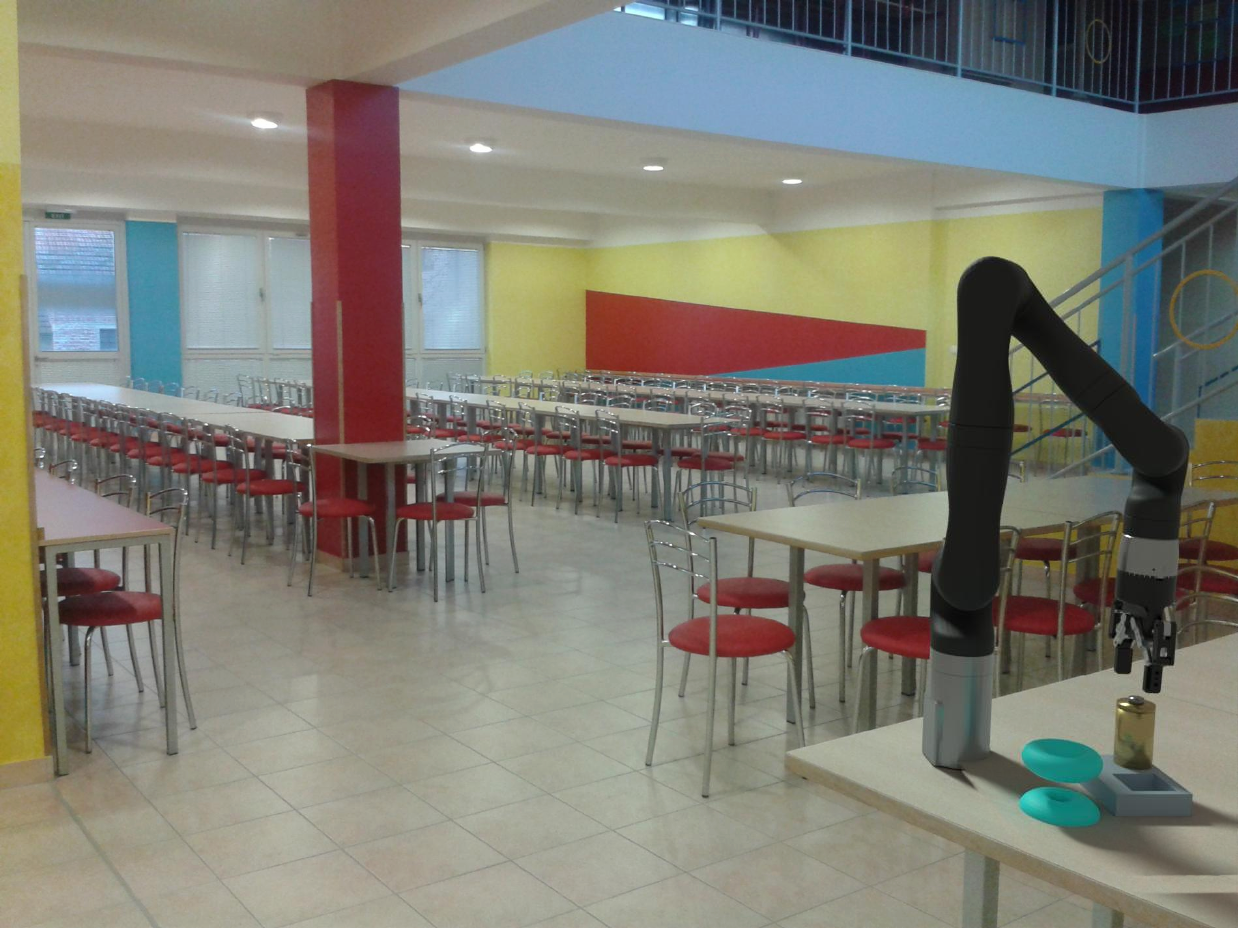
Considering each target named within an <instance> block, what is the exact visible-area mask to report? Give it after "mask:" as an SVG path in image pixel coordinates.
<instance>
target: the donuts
mask: <svg viewBox="0 0 1238 928" xmlns="http://www.w3.org/2000/svg"><path fill="white" fill-rule="evenodd" d="M1100 755H1101V754H1099V752H1098V751H1096V749H1093V748H1092V747H1090V746H1088V745H1086V744H1083V743H1080V742H1078V741H1077V742H1076V741H1073V740H1068V739H1061V738H1039V739H1035V740H1032V741H1030V742H1028V743H1026V744H1025V746H1024V747H1023V748H1022V751H1021V759H1022V762H1023V764H1024V765H1025V767H1026V768H1027V769H1028V770H1029V771H1030V772H1032V774H1034V775H1036V776H1038V777H1040V778H1043V779H1045V780H1048V781H1051V782H1056V783H1061V784H1079V783H1083V782H1088V781H1091V780H1093V779H1095V778H1096V777H1097V776H1099V775H1100V773H1101V772H1102V769H1103V760H1102V758H1101V756H1100ZM1018 807H1019V809H1020V810H1021V811H1022V812H1023V814H1025V815H1026V816H1028V817H1031V818H1032V819H1034V820H1037V821H1040V822H1041V823H1046V824H1049V825H1050V824H1051V825H1054V826H1059V827H1060V826H1061V827H1071V828H1077V827H1079V828H1080V827H1088V826H1092V825H1095V824H1097V823H1098V822H1100V819H1101V813H1100V810H1099V807H1098V806H1097V804H1096V803H1095V802H1094V801H1093V800H1091V799H1090V798H1089V797H1088V796H1086V795H1084V794H1083V793H1081V792H1078V791H1076V790H1072V789H1069V788H1064V787H1056V786H1041V787H1036V788H1033V789H1030V790H1029V791H1026V792H1025V793H1024V794H1023V795H1022V796H1021V798H1020V800H1019V805H1018Z"/></svg>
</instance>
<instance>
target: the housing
mask: <svg viewBox="0 0 1238 928" xmlns="http://www.w3.org/2000/svg"><path fill="white" fill-rule="evenodd" d="M1099 755H1100V756H1101V758H1102V760H1103V769H1102V772H1101V773H1100V775H1099V776H1097V777H1096V778H1095V779H1093V780H1091V781H1088V782H1083V783H1078V784H1079V785H1080V786H1081V787H1082V788H1083V789H1085V791H1087V792H1088V793H1089V794H1091V796H1092V797H1093V798H1095V799H1096V800H1097V801H1098V802H1099V803H1100V804H1101V805H1102V806H1104V808H1105V809H1107V810H1108V811H1109V812H1110V813H1111V814H1112V815H1114V816H1115V817H1117V818H1119V817H1123V818H1125V817H1126V818H1127V817H1134V818H1135V817H1146V818H1147V817H1151V818H1152V817H1154V818H1156V817H1162V818H1163V817H1165V818H1166V817H1170V818H1171V817H1172V818H1173V817H1176V818H1177V817H1178V818H1179V817H1181V818H1182V817H1184V818H1185V817H1188V818H1189V817H1192V810H1193V800H1194V799H1193V797H1194V794H1193V793H1192V792H1191V791H1189V790H1188V789H1186V788H1185V787H1184V786H1183V785H1181V784H1180V783H1179V782H1177V781H1176V780H1174V779H1173V778H1172V777H1170V776H1169V775H1168V774H1166V773H1165V772H1164V771H1162V770H1161V769H1160V768H1158V767H1157V766H1156V765H1155V764H1153V763H1152V768H1151V769H1148V770H1133V769H1128V768H1124V767H1121V766H1119V765H1117V764H1115V763H1114V762H1113V754H1099Z"/></svg>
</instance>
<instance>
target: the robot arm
mask: <svg viewBox="0 0 1238 928" xmlns="http://www.w3.org/2000/svg"><path fill="white" fill-rule="evenodd" d="M956 318H957V319H956V325H957V326H956V327H957V328H956V329H957V335H956V336H957V347H956V348H957V349H956V361H955V368H954V372H953V373H954V374H953V381H952V388H951V399H950V405H949V406H950V407H949V412H948V413H949V414H948V421H947V430H946V431H947V432H946V439H945V440H946V442H945V443H946V444H945V474H946V475H945V477H946V489H947V490H946V492H947V500H948V501H947V502H948V517H947V518H948V519H947V527H946V533H945V539H944V545H943V546H942V547H941V548H940V549H939V550H938V552H937V553H936V554H935V556H934V558H933V561H932V564H931V569H930V587H929V589H930V593H929V597H930V598H929V630H930V631H929V632H930V633H929V634H930V641H929V642H930V643H929V645H930V646H929V666H928V668H929V671H928V691H925V692H924V693H923V715H922V739H921V741H922V743H921V752H922V754H923V755H924V756H925V758H927V760H928V762H930V764H931V765H933V766H934V767H935V766H937V767H940V766H941V767H945V768H949V769H955V770H956V769H957V770H965V768H964V767H963V765H961V764H960V762H976V761H977V762H978V761H982V760H984V759H985V760H986V759H988V757H989V756H990V752H991V728H992V727H991V724H992V709H993V708H992V706H993V700H992V699H993V683H994V680H993V679H994V665H995V664H994V659H995V639H996V637H995V630H994V618H993V609H994V607H993V603H994V598H995V597H996V595H997V593H998V592H999V588H1000V585H1001V550H1000V549H1001V518H1002V512H1003V505H1004V501H1005V496H1006V490H1007V483H1008V479H1009V478H1008V477H1009V470H1010V464H1011V456H1012V450H1013V440H1014V439H1013V438H1014V432H1015V431H1014V427H1015V415H1016V414H1015V399H1014V392H1013V386H1012V378H1011V371H1010V370H1011V369H1010V360H1009V359H1010V345H1011V339H1012V337H1014V339H1016V340H1017V341H1018V342H1019V343H1021V344H1022V345H1023V347H1025V348H1026V349H1027V350H1028V351H1029V352H1030V353H1031V354H1032V356H1034V358H1035V359H1036V360H1037V361H1038V363H1039V364H1040V365H1041V367H1043V368H1044V371H1046V373H1047V374H1048V375H1049V377H1050V378H1051V380H1052V381H1053V382H1054V383H1055V385H1056V386H1057V387H1058V388H1059V390H1060V391H1061V392H1062V393H1063V394H1064V395H1065V396H1066V397H1067V399H1068V400H1069V401H1070V402H1071V403H1072V404H1073V405H1074V406H1075V407H1076V408H1077V409H1078V410H1080V411H1081V413H1083V415H1084V416H1085V417H1086V418H1088V420H1090V421H1091V422H1092V423H1093V424H1094V425H1096V426H1097V427H1098V428H1099V429H1100V430H1101V432H1102V433H1103V435H1104V436H1105V437H1106V439H1107V440H1108V441H1109V442H1110V444H1111V445H1112V446H1113V447H1114V448H1115V450H1116V451H1117V452H1118V453H1119V454H1120V456H1121V457H1122V458H1123V459H1124V460H1125V461H1126V462H1127V464H1129V465H1130V466H1131V467H1132V473H1131V474H1132V476H1131V486H1130V487H1131V488H1130V491H1129V493H1128V495H1127V498H1126V501H1125V504H1124V509H1123V510H1124V511H1123V519H1122V520H1123V521H1122V532H1121V539H1120V543H1119V547H1118V554H1117V563H1116V564H1117V567H1116V574H1115V575H1116V576H1115V587H1114V597H1115V598H1112V599H1111V606H1110V614H1109V615H1110V616H1109V623H1108V630H1107V637H1108V639H1109V640H1113V641H1112V642H1113V647H1115V651H1114V661H1113V662H1114V663H1113V664H1114V665H1113V671H1114V673H1116V674H1117V675H1130V674H1131V673H1132V666H1133V656H1134V648H1133V647H1134V646H1135V644H1137V649H1138V650H1140V651H1141V652H1142V655H1143V659H1144V666H1143V675H1142V676H1143V677H1142V687H1141V688H1142V691H1143V692H1144V693H1146V694H1160V693H1161V692H1162V684H1163V683H1162V682H1163V673H1164V672H1163V670H1164V667H1173V666H1174V665H1175V657H1176V642H1177V641H1176V640H1177V627H1178V626H1177V622H1176V621H1172V620H1171V621H1169V620H1165V618H1164V609H1166V608H1170V607H1171V606H1173V605H1174V604H1175V601H1176V594H1177V593H1176V591H1177V583H1178V582H1177V581H1178V570H1179V569H1178V568H1179V560H1180V548H1179V547H1180V546H1179V541H1180V540H1179V536H1180V527H1181V518H1182V517H1181V516H1182V510H1181V509H1182V508H1181V507H1182V497H1183V492H1184V487H1185V483H1186V478H1187V472H1188V468H1189V460H1190V459H1189V458H1190V443H1189V440H1188V438H1187V436H1186V434H1185V433H1184V431H1183V430H1182V429H1180V428H1179V427H1177V425H1173V424H1171V423H1167V422H1164V421H1163V420H1162V419H1161V418H1160V417H1159V416H1157V414H1156V413H1154V411H1152V410H1151V409H1150V407H1148V406H1147V405H1146V404H1145V403H1144V402H1143V401H1142V400H1141V397H1140V394H1139V393H1138V392H1137V390H1136V389H1135V388H1134V386H1132V384H1130V382H1129V381H1127V380H1126V379H1125V378H1124V377H1123V376H1122V375H1121V374H1120V373H1119V372H1118V371H1117V370H1116V369H1115V368H1114V367H1113V366H1111V364H1110V363H1108V361H1107V360H1105V359H1104V358H1103V357H1102V356H1101V355H1100V354H1099V353H1098V352H1096V351H1095V350H1094V349H1093V348H1092V347H1091V346H1090V345H1089V344H1088V343H1087V342H1086V341H1085V340H1084V339H1082V338H1081V337H1080V336H1079V335H1078V334H1077V333H1076V332H1075V331H1074V330H1073V329H1072V328H1070V326H1069V325H1068V324H1066V322H1065V321H1064V320H1063V319H1062V318H1061V317H1060V316H1059V314H1057V312H1056V311H1055V310H1054V309H1053V308H1052V306H1051V305H1050V304H1049V302H1048V301H1047V300H1046V298H1045V297H1044V295H1043V293H1041V292H1040V290H1039V289H1038V288H1037V286H1036V284H1035V283H1034V281H1033V280H1032V279H1031V277H1030V276H1029V274H1028V273H1027V271H1026V270H1025V268H1023V266H1021V265H1020V264H1018V263H1017V262H1014V261H1012V260H1010V259H1009V260H1008V259H1006V258H1002V257H1000V256H994V255H989V256H982V257H979V258H976V259H975V260H973V261H972V262H971V263H970V264H968V265H967V266H966V268H965V269H964V271H963V272H962V274H961V276H960V278H959V281H958V283H957V289H956ZM1165 649H1166V651H1165Z"/></svg>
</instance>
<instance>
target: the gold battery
mask: <svg viewBox="0 0 1238 928" xmlns="http://www.w3.org/2000/svg"><path fill="white" fill-rule="evenodd" d="M1115 702H1116V703H1115V720H1114V721H1115V722H1114V738H1113V754H1112V755H1113V762H1114V763H1115V764H1117V765H1119V766H1121V767H1124V768H1128V769H1133V770H1148V769H1151V768H1152V764H1153V763H1154V762H1153V759H1154V742H1155V729H1156V712H1157V711H1156V710H1157V709H1156V707H1157V705H1156V704H1155V703H1154V702H1153V701H1149V700H1147V699H1145V697H1143V696H1140V695H1128V696H1127V697H1119V698H1117V699H1116V701H1115Z"/></svg>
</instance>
